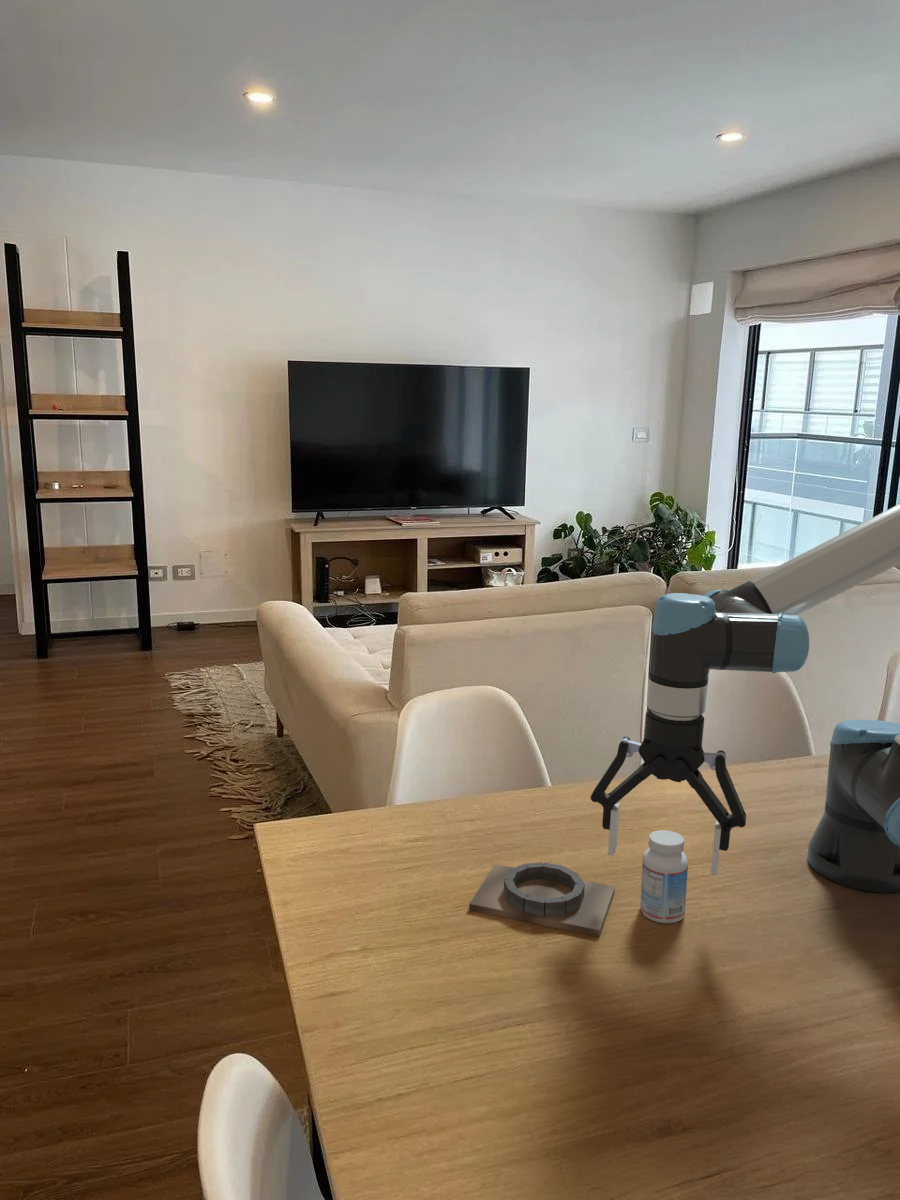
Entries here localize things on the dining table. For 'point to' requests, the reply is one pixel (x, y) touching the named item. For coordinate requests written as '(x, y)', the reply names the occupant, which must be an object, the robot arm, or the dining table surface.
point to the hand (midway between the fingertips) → (662, 860)
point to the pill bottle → (664, 878)
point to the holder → (544, 897)
